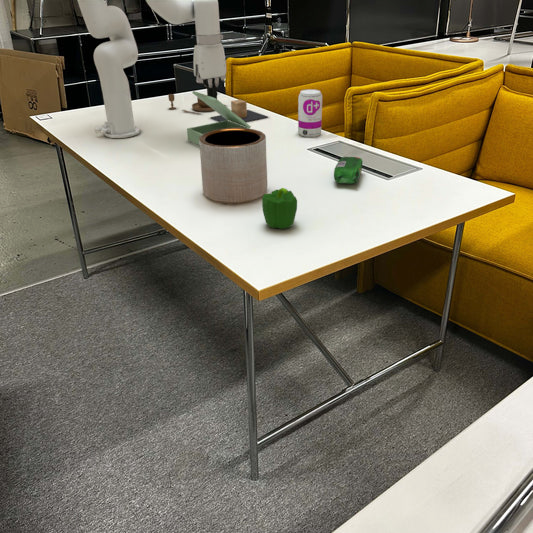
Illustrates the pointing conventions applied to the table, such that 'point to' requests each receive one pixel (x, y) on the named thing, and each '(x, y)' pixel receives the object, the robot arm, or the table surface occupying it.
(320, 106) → the supplement can
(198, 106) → the place setting
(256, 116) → the mat
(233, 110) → the block
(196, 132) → the lunchbox
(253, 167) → the planter
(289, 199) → the bell pepper
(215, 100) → the lid
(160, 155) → the table surface
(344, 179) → the snack package
